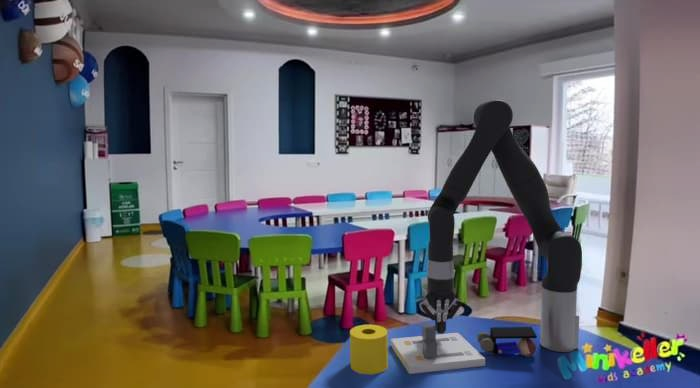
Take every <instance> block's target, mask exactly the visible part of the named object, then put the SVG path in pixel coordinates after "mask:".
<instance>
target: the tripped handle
mask: <svg viewBox="0 0 700 388" xmlns="http://www.w3.org/2000/svg"><path fill="white" fill-rule="evenodd" d="M421 330H422V331H421V332H422V333H421V334H422V335H421V336H422V338H423V339H434V340H435V341H436V335H437V334H436V333H437V331H436V327H435V324H433V323H429V324H422V325H421Z"/></svg>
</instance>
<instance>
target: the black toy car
mask: <svg viewBox="0 0 700 388" xmlns="http://www.w3.org/2000/svg"><path fill="white" fill-rule="evenodd" d="M537 338H538V336H537V334H536V333H535V330H534V329H533V327H532V326H508V327H507V326H506V327H504V326H503V327H502V326H501V327H497V326H495V327H490V333H489V332H487V331H481V332H479V333H478V334H477V341H478V343H479V345H480V348H481V349H482V350H483V351H484V352H486V353H492V354H487V355H486V357H497V356H500V355H512V354H521V355H522V356H524V357H532V356H533V355H535V353H536V351H537V346H536V343H535V341H534V340H533V339H537ZM497 339H498V340H499V339H500V340H501V339H519V340H518V341H517V342H516V340H515V341H503V342H497Z"/></svg>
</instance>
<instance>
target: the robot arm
mask: <svg viewBox="0 0 700 388" xmlns="http://www.w3.org/2000/svg"><path fill="white" fill-rule="evenodd" d="M513 114H514V113H513V110H512V108H511V106H510V104H509V103H508V102H506V101H504V100H502V99H493V100H489V101H485V102H482V103H481V104H479V105H478V106H477V107H476V109H475V110H474V113H473V123H474V126H475V130H474V133H473V135H472V137H471V139H470V141H469V143H468V145H467V147H466V148H465V149H464V151H463V152H462V154H461V155H460V156H459V158H458V160H457V161H456V163H455V164H454V165H453V167H452V168H451V170H450V172H449V174H448V176H447V178H446V180H445V182H444V184H443V186H442V189H441V191H440V192H439V194H438V195H437V197H436V198H435V200H434V201H433V203H432V204H431V206H430V209H429V210H428V213H427V221H428V225H429V227H428V228H429V241H428V250H427V251H428V252H427V253H428V254H427V257H428V260H427V267H426V268H427V270H426V272H427V275H426V278H427V283H426V284H427V287H426V290H427V292H426V295H425V299H424V300H423V301H420V302H419V303H418V305H419V307H420V308H421V309H422V310H423V311H424V313H425V314H426V315H427V317H428V318H430V320H431V321H434V326H435V327H436V333H437V335H438V334H445V332H446V331H447V320H449V319H450V320H452V319H453V317H454V316H455V315H456V313H457V312H458V310H460V308H461V306H462V305H463V302H462V301H461V300H460V299H458V298H456V294H455V293H454V292H455V290H454V289H455V265H454V243H453V242H454V237H455V236H454V235H455V223H456V222H455V213H456V211H457V209H458V208H459V206H460V204H461V203H463V202H464V201H465V200H466V198H467V197H468V194H469V192H470V190H471V189H472V186H473V184H475V183H474V182H475V180H476V178H477V176H478V175H479V173H480V171H481V170H482V167H483V165H484V164H485V161H486V160H487V158H488V157H489V155H490V153H491V152H492V154H493V157H494V159H495V160H496V164H497V166H498V168H499V171H500V172H501V174H502V177H503V179H504V181H505V183H506V186H507V188H508V189H509V191H510V193H511V195H512V197H513V199H514V200H515V202H516V204H517V206H518V208H519V210H520V211H521V213H522V215H523V216H524V218H525V219H526V221H527V223H528V225H529V227H530V230H531V232H532V234H533V238H534V240H535V242H536V246H537V248H538V250H539V253H540V255H541V256H542V257H543V258H544V259H545V260H547V271H546V272H547V273H546V274H545V275H543V276H542V279H541V307H540V308H541V309H540V310H541V311H540V314H541V315H540V345H541V346H542V347H543V348H545V349H547V350H548V351H553V352H556V353H557V352H558V353H570V352H574V350H576V349H579V337H580V336H579V335H580V316H579V315H578V314H577V296H578V294H577V293H578V290H577V289H578V283H579V282H580V279H581V275H582V262H583V250H582V245H581V243H580V241H579V240H578V239H577V238H576V237H574V236H573V235H571V234H568V233H565V232H564V231H563V229H562V228H561V227H560V225H559V224H558V221H557V220H556V218H555V216H554V214H553V212H552V209H551V204H550V197H549V196H550V195H549V191H548V188H547V185H546V183H545V181H544V180H545V179H544V178H543V177H542V175H541V173H540V171H539V169H538V167H537V165H536V164H535V163H534V161H533V160H532V159H531V157H530V156H529V155H528V154H527V153H526V151H524V149H523V148H522V147H521V146H520V144H519V143H518V141H517V140H516V138H515V136H514V134H513V131H512V130H511V127H510V125H512V122H513V119H514V116H513ZM429 305H430V306H431V308H432V310H433V312H432V311H431V310H430V309H429Z"/></svg>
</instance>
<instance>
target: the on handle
mask: <svg viewBox="0 0 700 388" xmlns="http://www.w3.org/2000/svg"><path fill="white" fill-rule="evenodd" d="M422 342H423V355H424V356H425V357H426V358H434V357H437V345H438V343H437V342H436V341H435V340H434V339H422Z"/></svg>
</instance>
